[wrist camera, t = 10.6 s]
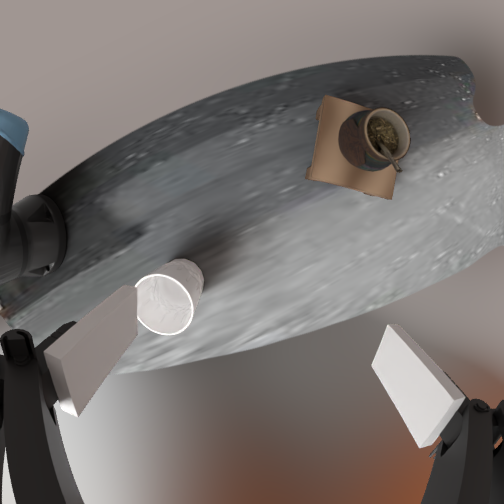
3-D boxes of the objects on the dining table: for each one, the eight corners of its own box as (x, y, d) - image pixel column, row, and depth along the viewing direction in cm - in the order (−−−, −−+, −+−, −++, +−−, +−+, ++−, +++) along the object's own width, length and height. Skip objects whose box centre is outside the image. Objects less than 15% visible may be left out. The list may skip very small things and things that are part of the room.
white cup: (174, 243, 39) (149, 260, 29) (218, 274, 40) (206, 300, 30) (150, 284, 40) (122, 310, 30) (191, 313, 41) (174, 346, 31)
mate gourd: (379, 116, 28) (419, 95, 19) (390, 172, 30) (435, 170, 20) (327, 117, 29) (355, 92, 19) (339, 178, 31) (373, 174, 21)
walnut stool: (303, 180, 36) (311, 177, 31) (315, 108, 34) (325, 94, 28) (373, 198, 37) (391, 199, 31) (383, 129, 34) (402, 121, 28)
